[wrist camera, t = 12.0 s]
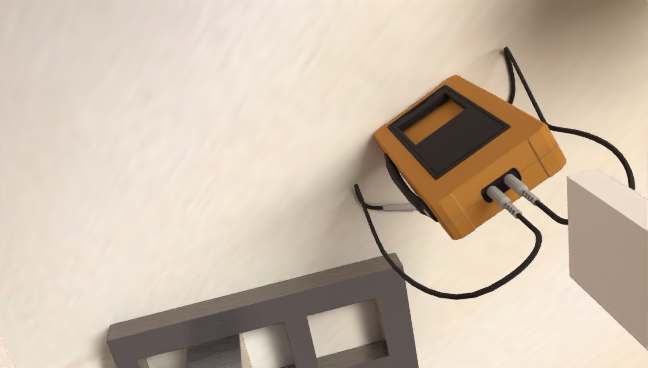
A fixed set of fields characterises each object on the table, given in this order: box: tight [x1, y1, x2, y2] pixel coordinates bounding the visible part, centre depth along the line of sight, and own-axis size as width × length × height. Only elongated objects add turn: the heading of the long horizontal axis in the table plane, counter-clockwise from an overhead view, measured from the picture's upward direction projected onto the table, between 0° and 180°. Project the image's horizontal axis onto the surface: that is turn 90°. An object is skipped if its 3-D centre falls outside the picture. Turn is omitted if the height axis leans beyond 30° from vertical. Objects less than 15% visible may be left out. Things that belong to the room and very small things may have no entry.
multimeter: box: [354, 47, 635, 300], centre depth 36 cm, size 15×10×20 cm
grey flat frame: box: [107, 253, 419, 368], centre depth 48 cm, size 10×22×2 cm, turn 101°
